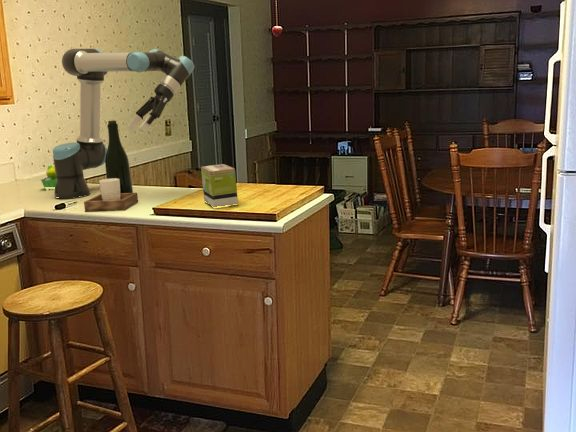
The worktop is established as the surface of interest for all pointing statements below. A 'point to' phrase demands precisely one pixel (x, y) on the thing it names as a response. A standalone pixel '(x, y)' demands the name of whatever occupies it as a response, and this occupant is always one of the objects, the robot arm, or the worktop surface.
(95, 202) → the walnut box
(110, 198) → the white cup
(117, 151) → the wine bottle
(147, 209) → the worktop surface
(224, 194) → the tea box
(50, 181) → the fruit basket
